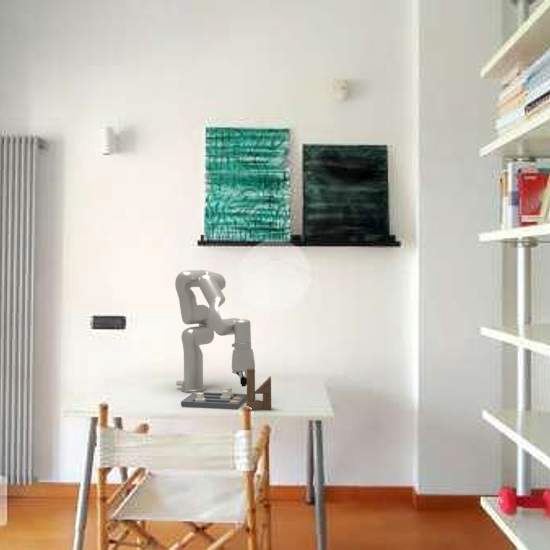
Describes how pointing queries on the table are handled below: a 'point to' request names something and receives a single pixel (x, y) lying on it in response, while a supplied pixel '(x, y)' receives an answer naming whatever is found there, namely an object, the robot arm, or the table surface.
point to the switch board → (214, 401)
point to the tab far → (230, 391)
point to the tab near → (200, 398)
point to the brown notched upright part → (258, 392)
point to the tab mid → (225, 395)
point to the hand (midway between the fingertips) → (244, 385)
